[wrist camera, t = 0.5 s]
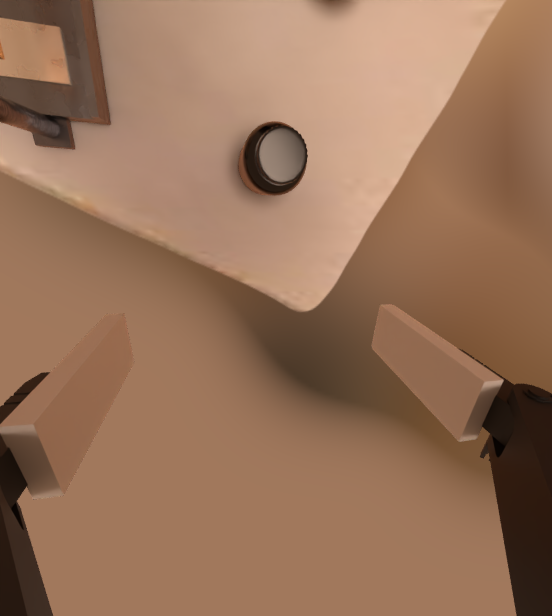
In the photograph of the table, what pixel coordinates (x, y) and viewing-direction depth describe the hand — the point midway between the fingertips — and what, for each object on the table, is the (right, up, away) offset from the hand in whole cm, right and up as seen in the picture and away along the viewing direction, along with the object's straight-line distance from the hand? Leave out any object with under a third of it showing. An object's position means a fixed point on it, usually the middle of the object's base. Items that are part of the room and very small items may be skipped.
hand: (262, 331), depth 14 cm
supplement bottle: (-1, +20, +21) cm, 29 cm away
